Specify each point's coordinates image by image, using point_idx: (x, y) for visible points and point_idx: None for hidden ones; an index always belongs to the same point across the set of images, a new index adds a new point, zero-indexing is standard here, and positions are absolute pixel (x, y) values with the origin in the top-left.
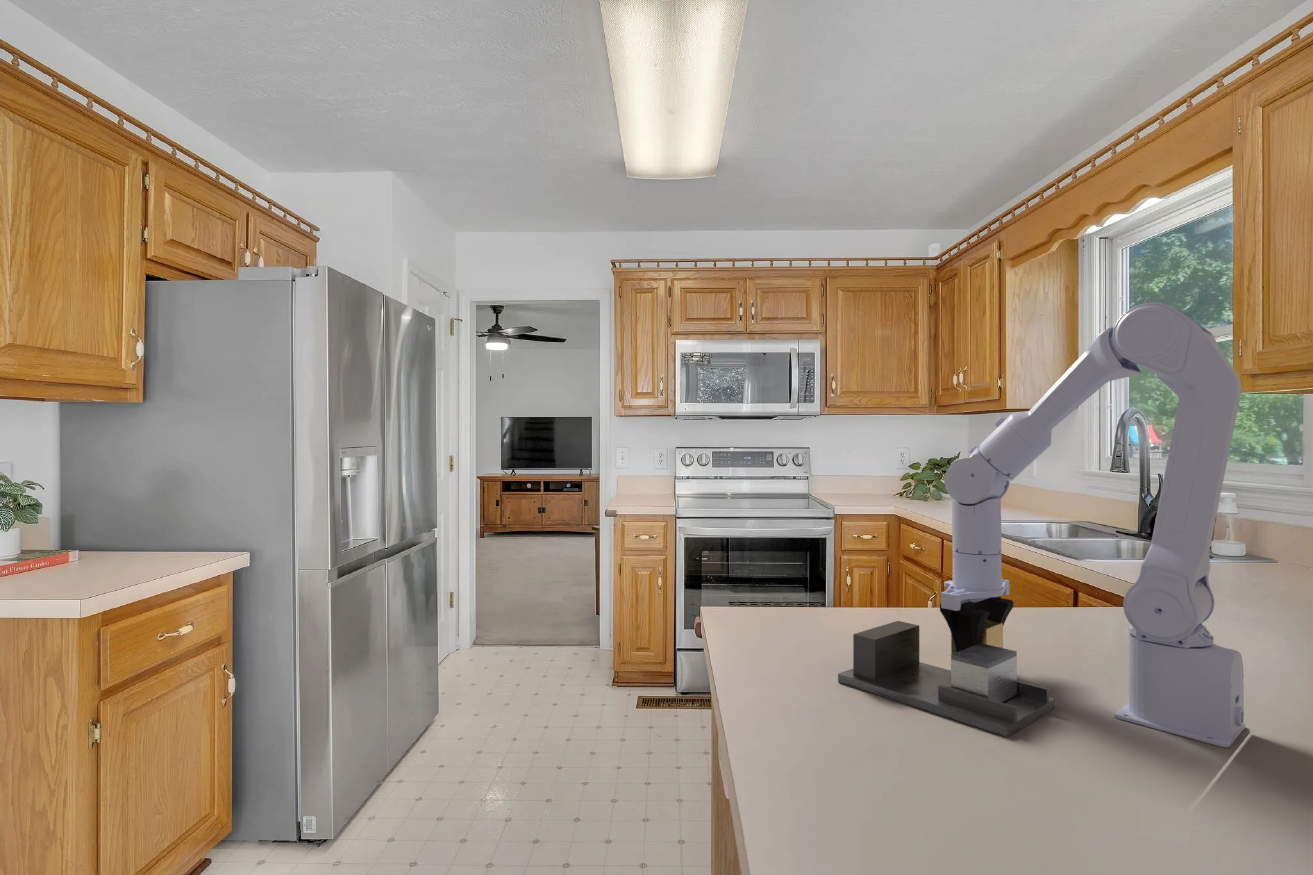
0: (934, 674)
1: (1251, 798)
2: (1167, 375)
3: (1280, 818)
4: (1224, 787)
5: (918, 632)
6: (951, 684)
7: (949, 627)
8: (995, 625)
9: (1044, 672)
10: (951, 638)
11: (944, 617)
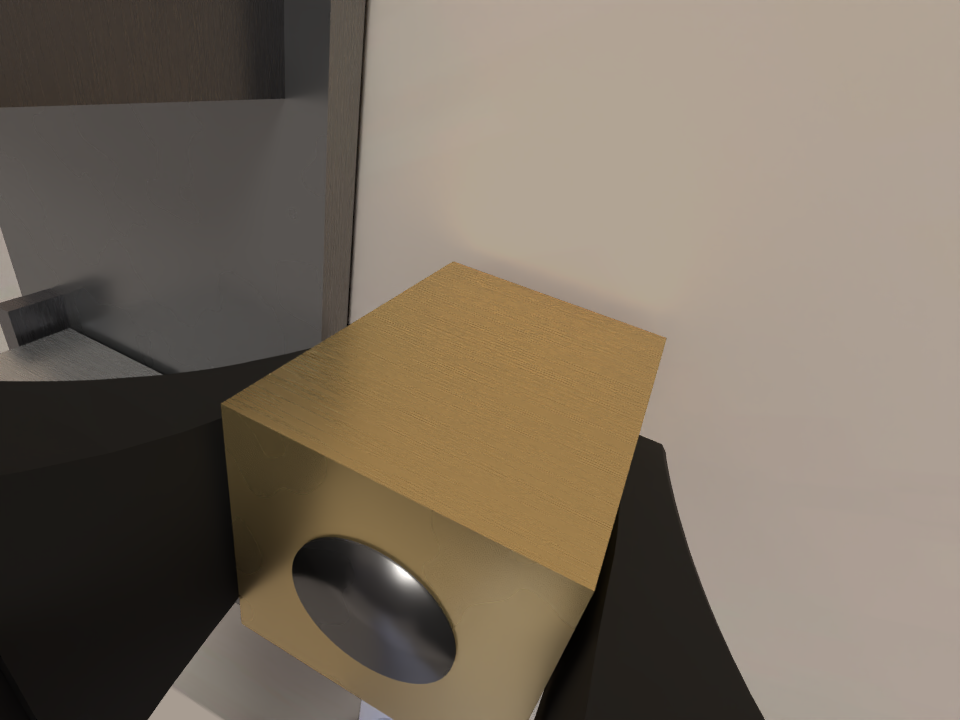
0: (218, 222)
1: (216, 693)
2: None
3: (192, 691)
4: (221, 683)
5: (47, 101)
6: (15, 349)
7: (157, 378)
8: (377, 706)
9: (759, 657)
10: (339, 332)
11: (17, 385)
